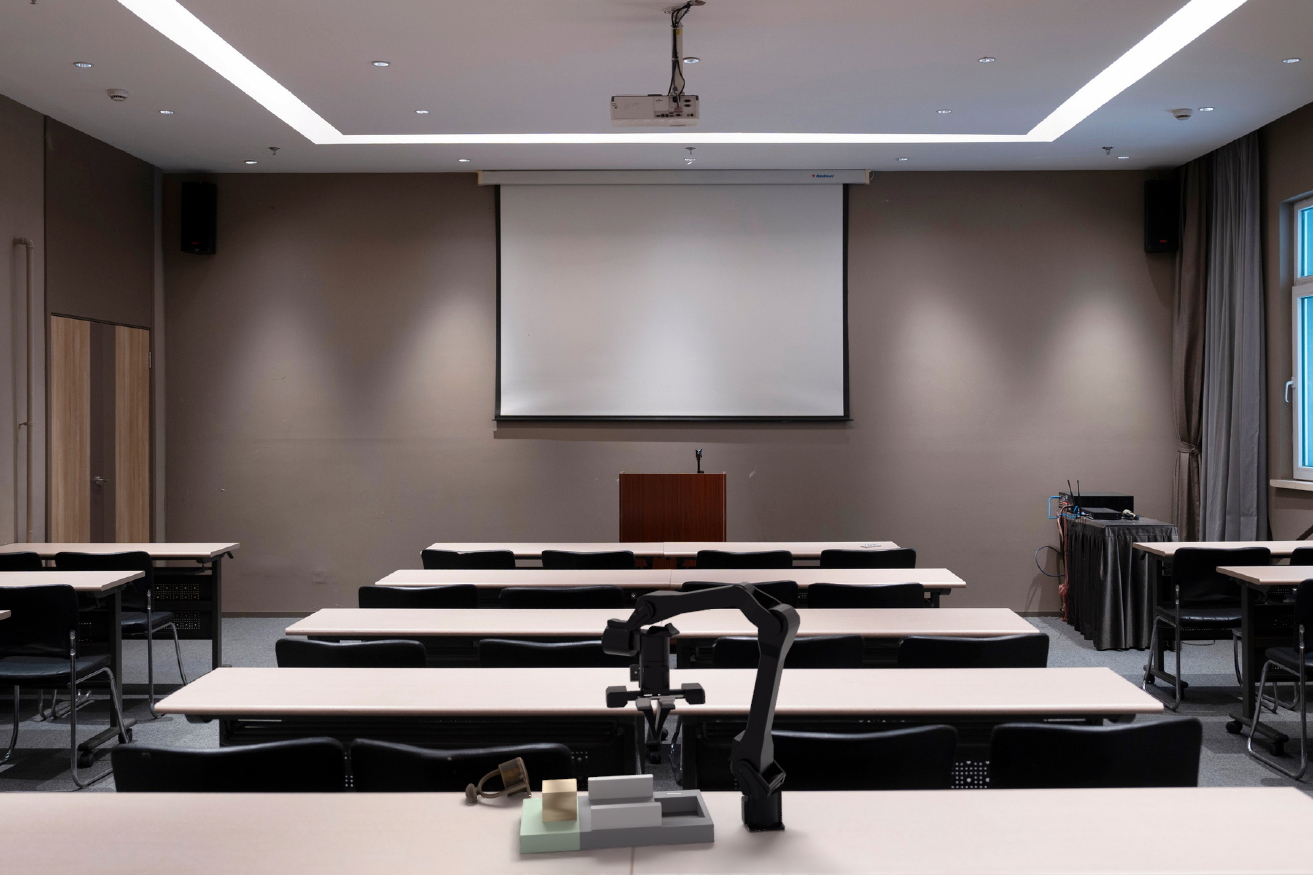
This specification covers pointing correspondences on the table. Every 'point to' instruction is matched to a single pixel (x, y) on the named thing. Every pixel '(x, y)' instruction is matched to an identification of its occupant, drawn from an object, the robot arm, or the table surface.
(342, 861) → the table surface
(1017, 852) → the table surface
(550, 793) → the maple block
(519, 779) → the brown cylinder with loop
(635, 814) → the stepped grey tray
